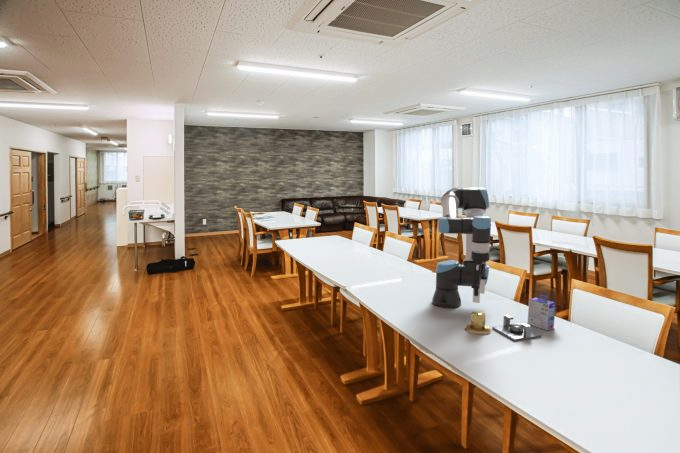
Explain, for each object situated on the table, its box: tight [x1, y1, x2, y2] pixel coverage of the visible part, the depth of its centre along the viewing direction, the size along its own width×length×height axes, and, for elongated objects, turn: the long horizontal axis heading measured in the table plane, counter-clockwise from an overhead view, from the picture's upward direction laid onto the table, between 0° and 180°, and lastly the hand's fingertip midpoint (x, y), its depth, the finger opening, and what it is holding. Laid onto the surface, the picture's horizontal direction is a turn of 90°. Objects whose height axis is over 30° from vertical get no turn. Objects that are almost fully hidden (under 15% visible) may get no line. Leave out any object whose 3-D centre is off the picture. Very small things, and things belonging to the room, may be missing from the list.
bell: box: [465, 310, 491, 331], centre depth 172 cm, size 10×6×7 cm, turn 60°
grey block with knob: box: [491, 314, 543, 342], centre depth 169 cm, size 14×14×6 cm
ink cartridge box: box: [526, 293, 556, 331], centre depth 175 cm, size 10×6×14 cm, turn 32°
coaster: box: [464, 325, 492, 336], centre depth 173 cm, size 11×11×1 cm
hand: (478, 297), depth 171 cm, fingers open, 13 cm apart
